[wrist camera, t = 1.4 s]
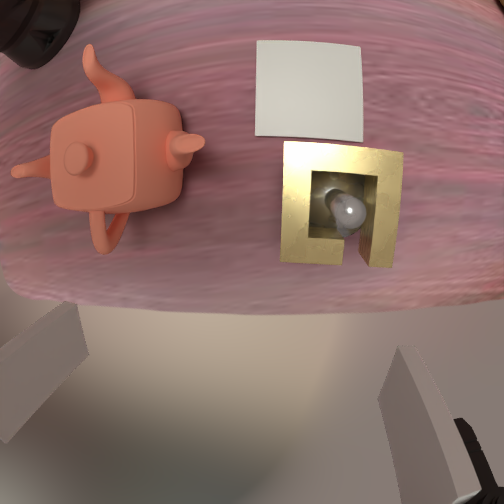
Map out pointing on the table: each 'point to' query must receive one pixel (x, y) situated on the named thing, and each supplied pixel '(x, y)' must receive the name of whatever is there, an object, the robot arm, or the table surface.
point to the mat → (309, 90)
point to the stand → (337, 201)
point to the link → (375, 201)
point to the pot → (115, 156)
